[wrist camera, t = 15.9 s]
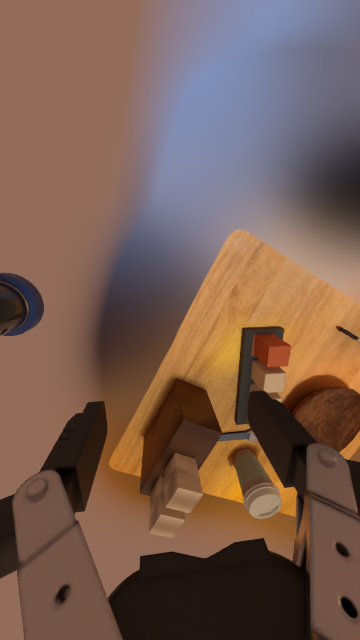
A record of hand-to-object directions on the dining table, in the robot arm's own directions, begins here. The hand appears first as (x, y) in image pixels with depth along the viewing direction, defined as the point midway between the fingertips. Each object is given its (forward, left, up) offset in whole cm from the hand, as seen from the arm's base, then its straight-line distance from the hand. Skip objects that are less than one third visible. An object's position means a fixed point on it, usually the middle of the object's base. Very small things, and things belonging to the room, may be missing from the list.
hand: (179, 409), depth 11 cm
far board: (+22, -19, -32) cm, 43 cm away
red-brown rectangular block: (+22, -10, -30) cm, 39 cm away
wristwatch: (+23, -36, -32) cm, 53 cm away
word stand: (+2, -28, -32) cm, 43 cm away
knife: (+47, -11, -32) cm, 58 cm away
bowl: (+39, -31, -32) cm, 59 cm away
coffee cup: (+21, -44, -32) cm, 58 cm away
